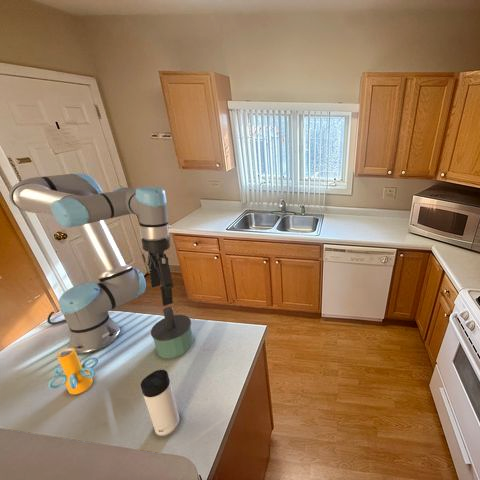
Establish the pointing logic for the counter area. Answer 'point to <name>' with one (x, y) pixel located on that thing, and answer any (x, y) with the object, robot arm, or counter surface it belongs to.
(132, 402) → the counter surface
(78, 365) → the orange toy with loops
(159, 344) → the cup
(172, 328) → the lid
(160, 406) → the travel mug
